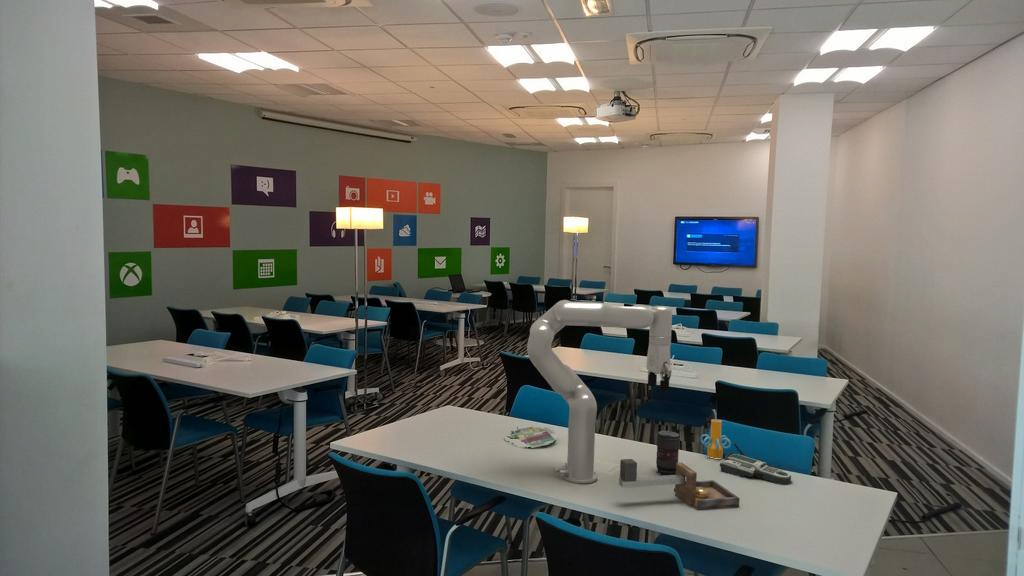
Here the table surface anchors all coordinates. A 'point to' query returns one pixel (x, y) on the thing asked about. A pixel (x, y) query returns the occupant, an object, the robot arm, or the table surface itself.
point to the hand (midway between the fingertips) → (658, 388)
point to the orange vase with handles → (715, 440)
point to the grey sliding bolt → (631, 480)
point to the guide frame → (716, 492)
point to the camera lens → (667, 452)
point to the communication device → (752, 468)
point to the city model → (534, 436)
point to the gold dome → (701, 492)
